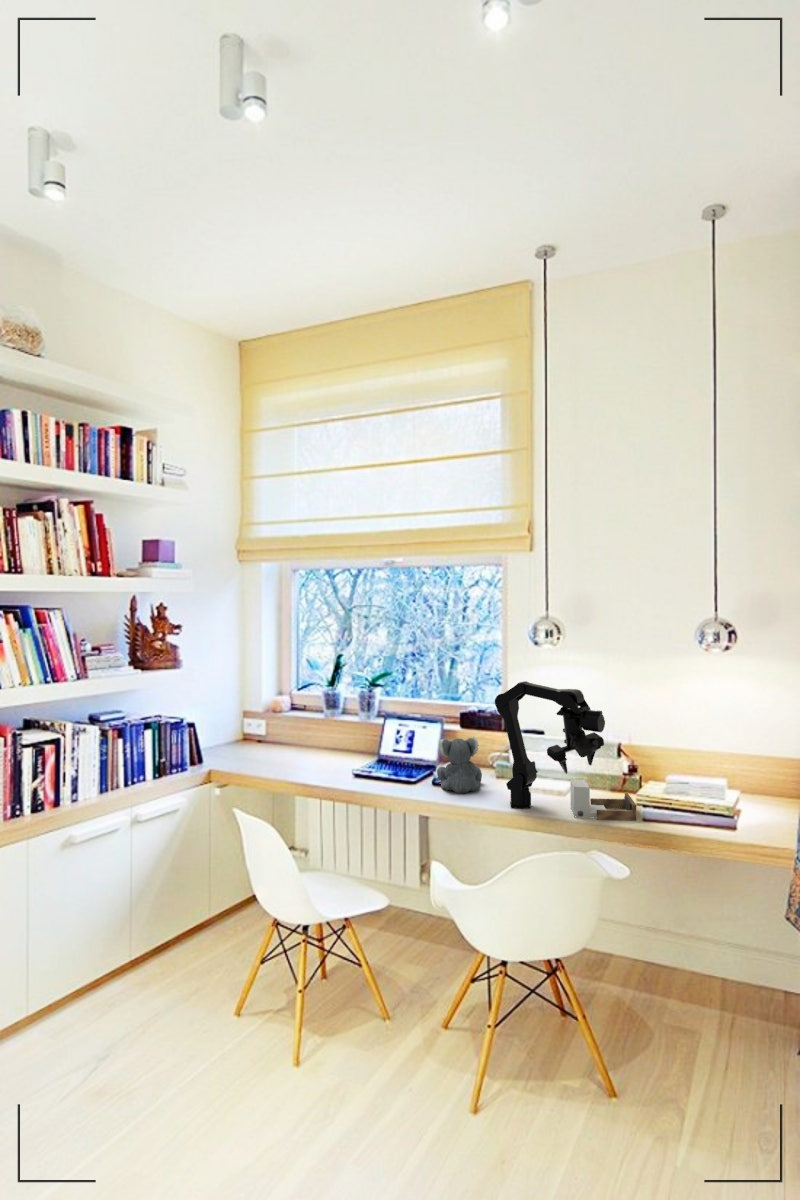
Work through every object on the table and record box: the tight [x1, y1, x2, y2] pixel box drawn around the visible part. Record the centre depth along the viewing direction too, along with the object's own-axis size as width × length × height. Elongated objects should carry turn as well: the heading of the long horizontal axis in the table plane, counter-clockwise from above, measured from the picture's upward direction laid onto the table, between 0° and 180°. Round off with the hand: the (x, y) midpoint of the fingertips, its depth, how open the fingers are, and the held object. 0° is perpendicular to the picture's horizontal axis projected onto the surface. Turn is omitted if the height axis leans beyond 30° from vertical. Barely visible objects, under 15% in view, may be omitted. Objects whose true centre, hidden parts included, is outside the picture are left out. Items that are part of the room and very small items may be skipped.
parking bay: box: [590, 792, 637, 821], centre depth 253 cm, size 12×14×5 cm
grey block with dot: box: [569, 779, 607, 819], centre depth 253 cm, size 11×10×10 cm
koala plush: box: [436, 736, 483, 794], centre depth 287 cm, size 17×18×20 cm
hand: (578, 769), depth 255 cm, fingers open, 9 cm apart
